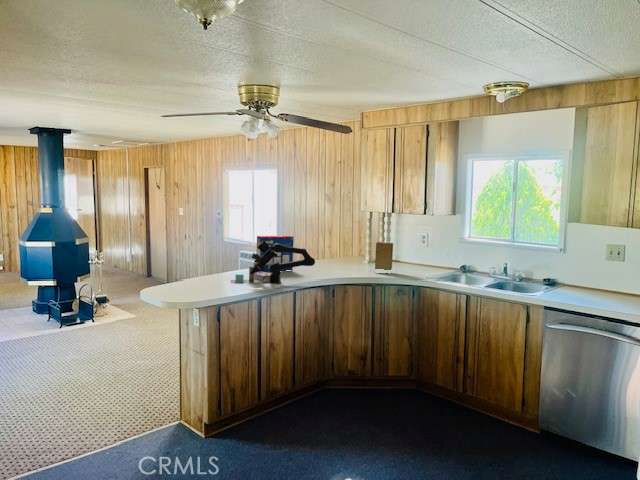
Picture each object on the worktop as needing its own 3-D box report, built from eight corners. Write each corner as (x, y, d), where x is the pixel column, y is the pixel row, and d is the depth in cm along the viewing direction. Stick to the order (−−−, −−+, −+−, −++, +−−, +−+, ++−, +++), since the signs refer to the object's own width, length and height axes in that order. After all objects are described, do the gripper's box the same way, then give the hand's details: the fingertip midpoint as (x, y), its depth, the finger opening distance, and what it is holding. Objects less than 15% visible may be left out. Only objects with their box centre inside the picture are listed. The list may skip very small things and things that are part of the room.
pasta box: (287, 269, 390) (289, 235, 387) (292, 271, 383) (293, 236, 381) (256, 271, 376) (257, 236, 373) (260, 273, 369) (261, 237, 366)
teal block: (242, 280, 328) (243, 273, 327) (243, 282, 323) (243, 274, 322) (235, 280, 327) (235, 273, 326) (235, 282, 322) (236, 274, 321)
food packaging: (392, 272, 394) (393, 242, 392) (390, 274, 385) (392, 243, 383) (376, 271, 398) (377, 241, 395) (374, 273, 389) (375, 242, 386)
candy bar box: (262, 271, 348) (276, 274, 336) (262, 277, 348) (276, 281, 336) (249, 272, 340) (263, 275, 328) (249, 279, 341) (263, 283, 329)
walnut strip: (257, 281, 333) (258, 265, 332) (259, 284, 322) (259, 268, 321) (230, 281, 329) (230, 265, 328) (230, 284, 318) (231, 268, 317)
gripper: (257, 247, 334) (241, 263, 333) (260, 250, 316) (242, 267, 315) (268, 258, 337) (252, 274, 335) (271, 262, 319) (254, 279, 317)
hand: (250, 273), depth 326 cm, fingers closed on walnut strip, 3 cm apart
